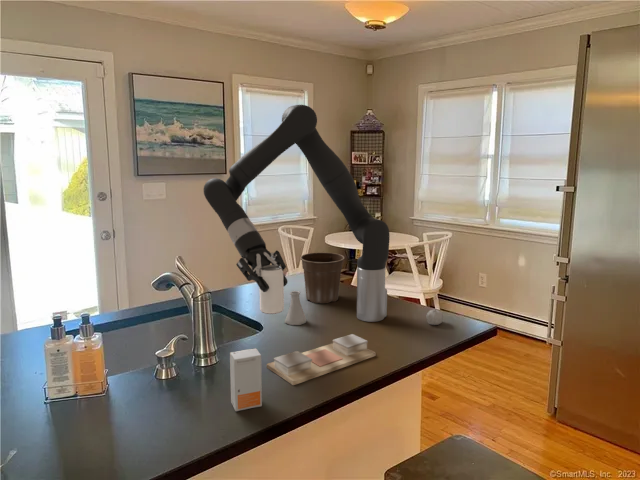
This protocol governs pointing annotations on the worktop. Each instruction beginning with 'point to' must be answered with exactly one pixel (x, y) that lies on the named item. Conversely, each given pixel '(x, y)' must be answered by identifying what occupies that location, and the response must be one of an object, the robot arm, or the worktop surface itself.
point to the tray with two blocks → (321, 359)
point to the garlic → (434, 317)
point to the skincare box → (246, 379)
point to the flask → (295, 310)
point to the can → (272, 290)
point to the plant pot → (322, 276)
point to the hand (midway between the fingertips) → (276, 287)
